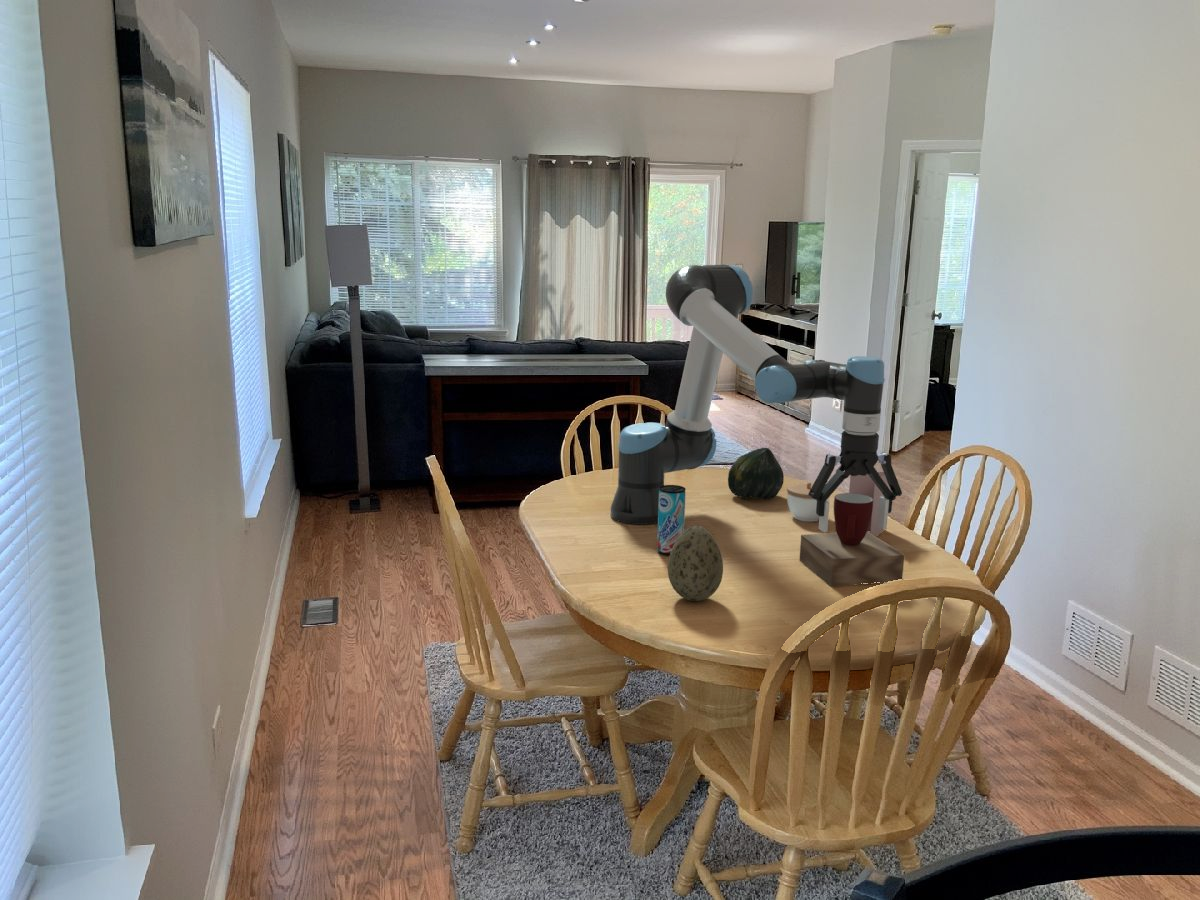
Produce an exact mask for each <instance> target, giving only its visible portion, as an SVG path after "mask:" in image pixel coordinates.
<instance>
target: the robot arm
mask: <svg viewBox="0 0 1200 900" xmlns="http://www.w3.org/2000/svg"><path fill="white" fill-rule="evenodd" d="M753 300H754V288H753V284H752V281H751V279H750V277H749V275H748V274H747V272H746V271H745V269H743V268H742V267H739V266H737V265H732V264H731V265H730V264H726V263H723V264H722V263H721V264H702V265H701V264H690V265H686V266H685V265H684V266H682V267H681V268H678V269H677V270H676V271H675V272H674V273H673V274H672V275H671V276H670V278H668V281H667V283H666V288H665V301H666V303H667V306H668V308H669V310H670V311H671V313H672V314H673V315H674V316H675V317H676V318H677V320H679V321H680V322H681V323H682V324H683V325H685V326H687V327H692V332H691V336H690V340H689V344H688V345H689V346H688V348H687V349H688V350H687V355H686V358H685V362H684V367H683V372H682V377H681V382H680V387H679V390H678V395H677V399H676V404H675V409H674V410H673V411H671V412H669V413H668V414H667V418H666V422H665V425H664V424H662V423H660V422H652V421H651V422H645V423H644V422H640V423H635V424H634V423H633V424H631V425H628V426H625V427H624V428H623V429H622V430H621V431H620V434H619V441H618V446H617V449H618V475H617V477H618V479H617V480H618V482H617V488H616V491H615V493H614V495H613V496H614V497H613V499H612V501H611V502H612V503H611V506H610V517H611V516H612V517H613V518H614V520H615V519H616V520H615V521H618V520H619V521H618V522H620V523H625V522H626V524H630V525H631V524H632V523H634V524H633V525H652V524H653V525H654V524H658V505H659V487H661V486H664V485H665V474H667V473H672V472H679V471H684V470H688V471H689V470H695V469H697V468H700V467H704V466H705V465H707V464H709V462H710V461H711V460H712V459H713V457H714V455H715V453H716V449H717V439H716V432H715V431H714V429H713V428H712V426H713V424H712V421H711V420H710V419H709V414H710V408H711V406H712V405H711V404H712V401H713V397H714V393H715V389H716V388H715V387H716V384H717V379H718V376H719V372H720V367H721V364H722V363H721V362H722V359H723V354H724V355H725V356H726V357H727V358H729V359H730V360H731V361H732V362H733V363H734V364H736V366H738V367H739V368H740V369H741V370H742V371H743V372H745V374H746V375H748V376H749V377H750V378H751V380H753V381H754V388H755V389H754V390H755V391H756V393H757V396H758V398H759V399H760V400H762V401H763V402H765V403H768V404H784V403H790V402H796V401H803V400H804V401H805V400H812V399H819V398H821V399H822V398H827V399H828V398H829V399H836V400H839V401H843V412H842V423H841V424H842V425H841V428H842V430H843V431H842V432H841V438H840V453H839V455H834V454H831V453H826V455H825V458H824V463H823V466H822V468H821V469H820V471H819V473H818V474H817V476H816V479H815V481H814V482H813V486H812V488H811V490H810V491H809V496H810V497H812V498H813V499H815V500H817V506H816V514H817V515H818V516H819V520H818V530H820V531H821V532H823V533H828V531H829V530H828V529H829V517H830V515H829V512H830V501H829V502H828V501H826V500H827V499H828V498H829V499H830V496H831V495H833V493H834V492H835V491H836V490H837V489H838V488H839V486H840V485H841V484H842V482H844V481H845V480H846V479H848V478H849V477H850V475H851V476H857V475H862V476H866V474H868V475H869V476H870V478H871V479H872V480H873V482H874V483H875V484H876V486H877V487H878V488H879V490H880V491H881V492H882V494H883V495H884V497H880V499H879V510H878V522H877V526H879V527H880V528H882V529H885V530H887V527H888V517H889V514H891V513H892V510H893V501H895V500H896V498H897V497H900V496H902V495H903V491H902V489H901V487H900V486H901V485H900V483H899V481H898V479H897V476H896V473H895V470H894V468H893V466H892V456H891V454H889V453H887V452H885V451H882V452H880V453H879V454H878V453H877V451H878V449H879V440H880V439H879V438H880V436H879V433H878V432H879V431H880V425H881V416H882V415H881V414H882V413H881V412H882V411H881V410H882V400H883V391H884V383H885V380H886V379H885V362H884V361H883V359H881V358H878V357H873V356H861V355H860V356H859V355H858V356H850V357H849V358H848V359H847V362H846V364H844V363H839V362H838V363H837V362H832V361H826V360H825V359H824V360H823V359H808V360H806V361H805V362H803V363H797V364H796V363H795V364H792V363H790V362H789V361H788V360H786V359H785V358H784V357H783V356H782V355H780V354H779V353H778V352H777V351H775V349H773V348H772V347H771V346H769V345H768V343H766V342H765V341H764V340H763V339H761V338H760V337H759V336H758V335H757V334H756V333H754V332H753V331H752V330H751V329H750V328H749V327H747V325H745V324H744V323H743V322H741V321H740V320H739V318H738V317H739V315H741V314H743V313H745V312H746V311H747V310H749V308H750V307H751V305H752V303H753ZM877 462H878V463H879V464H880V465H881V469H882V472H884V474H885V477H886V479H887V482H888V484H889V487H888V486H887V485H886V484H885V482H884V481H883V480H882V478H881V477H880V476H879V474H878V472H879V471H878V470H877V469H876V467H875V465H876V464H878V463H877ZM838 463H839V464H840V466H838V467H837V469H836V471H835V473H834V474H833V475H832V473H833V472H834V469H835V467H836V466H837V465H838ZM831 475H832V477H831ZM612 517H611V518H612ZM613 518H612V519H613Z"/></svg>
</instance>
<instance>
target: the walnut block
mask: <svg viewBox="0 0 1200 900" xmlns="http://www.w3.org/2000/svg"><path fill="white" fill-rule="evenodd" d="M798 559H799V562H801V563H802V564H803V565H804V566H805V567H806V568H808V570H810V571H811V572H813V574H814V575H816V576H818V577H819V578H820V579H821V580H822V581H823V580H824V582H825V584H827V585H828V586H830V588H831V587H835V588H836V587H844V586H845V585H851V586H855V585H854V584H861V583H862V584H863V583H868V584H867V585H872V584H871V583H874V582H876V584H875V585H878V584H879V585H881V583H882V584H885V583H884V582H888V581H893V580H898V579H902V580H903V574H904V564H905V554H904V553H903V552H901V551H899V550H898V549H896V548H894V547H893V546H891V545H889V544H888V543H887V542H885V541H883V540H882V539H880V537H878V536H877V537H876V536H874V535H873V534H871V533H870V532H868V531H867V533H866V535H865V537H864V538H863V540H862V541H861V543H860V544H859V545H846V544H843V543H841V541H840V539H839V537H838V535H837V532H831V533H829V532H827V533H811V534H809V533H808V534H801V535H800V547H799V558H798ZM877 582H880V583H877ZM845 587H846V586H845Z"/></svg>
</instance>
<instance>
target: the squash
mask: <svg viewBox="0 0 1200 900" xmlns="http://www.w3.org/2000/svg"><path fill="white" fill-rule="evenodd" d="M784 480H785V479H784V471H783V468H782V467H781V465H780V463H779V461H778V460H777V458H776V456H775V455H774V453H773V451H772V450H771V449H770V448H769V447H760V448H757V449H754V450H751V451H749V452H747V453H745V454H743V455H741V456H739V457H738V458H737V459H736V460H734V462H733V463H732V465H731V466H730V469H729V470H728V477H727V484H728V489H729V490H730V492H731V493H732V495H734V496H736V497H738V498H739V497H740V498H742V499H749V498H751V499H757V498H758V499H762V500H772V499H775V498H776V497H777V495H778V494H779V492H780V491H781V489H782V488H783V486H784Z"/></svg>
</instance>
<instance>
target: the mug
mask: <svg viewBox="0 0 1200 900" xmlns="http://www.w3.org/2000/svg"><path fill="white" fill-rule="evenodd" d="M872 510H873V499H872V498H871V497H869V496H866V495H862V494H855V493H849V492H843V493H842V492H841V493H838V494H835V495H834V499H833V515H834V516H833V517H834V518H833V519H834V525H835V527H834V528H835V533H837V535H838V537H839V539H840V541H841V543H843V544H846V545H859V544H860V543H861V541H862V540H863V538H864V537H865V535H866V533H867V530H868V526H869V523H870V519H871V515H872Z"/></svg>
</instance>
